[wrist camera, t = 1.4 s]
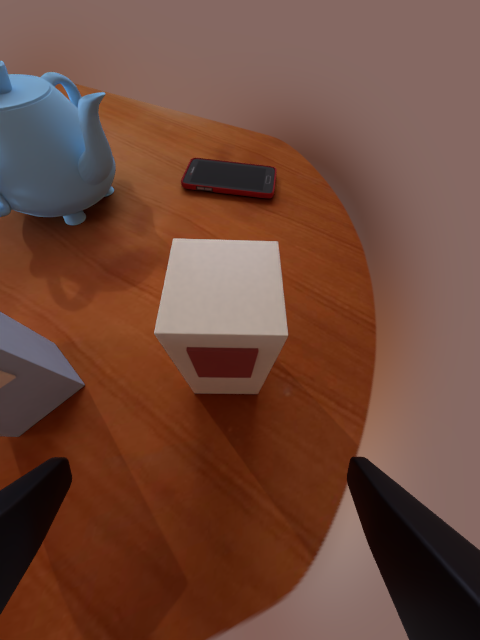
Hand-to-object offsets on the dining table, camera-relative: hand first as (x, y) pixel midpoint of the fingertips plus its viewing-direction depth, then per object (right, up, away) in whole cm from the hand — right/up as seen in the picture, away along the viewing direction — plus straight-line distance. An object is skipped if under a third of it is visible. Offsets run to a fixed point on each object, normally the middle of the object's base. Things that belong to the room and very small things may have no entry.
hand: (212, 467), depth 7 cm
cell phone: (-1, +28, +31) cm, 41 cm away
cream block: (0, 0, +16) cm, 16 cm away
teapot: (-24, +23, +27) cm, 43 cm away
